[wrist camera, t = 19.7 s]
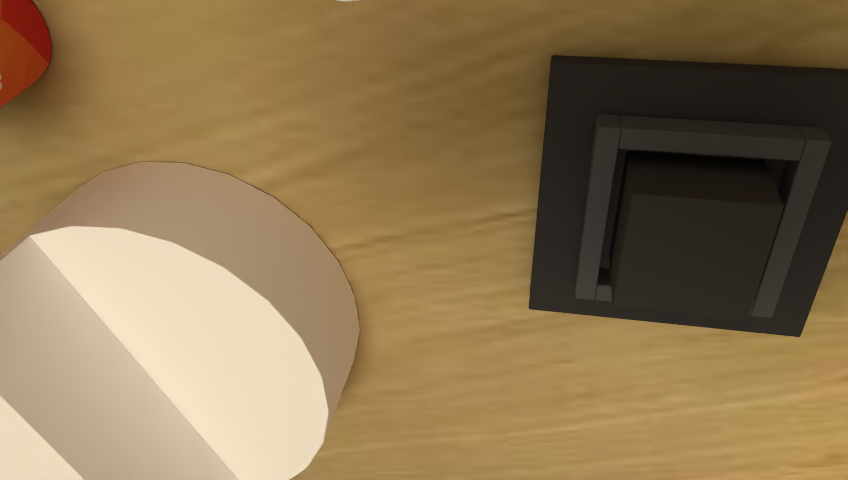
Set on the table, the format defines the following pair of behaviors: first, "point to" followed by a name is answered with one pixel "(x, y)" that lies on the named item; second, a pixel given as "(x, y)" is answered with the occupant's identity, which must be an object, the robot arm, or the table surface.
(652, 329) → the table surface
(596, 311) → the base pad
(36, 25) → the coffee cup
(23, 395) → the container
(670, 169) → the black block
